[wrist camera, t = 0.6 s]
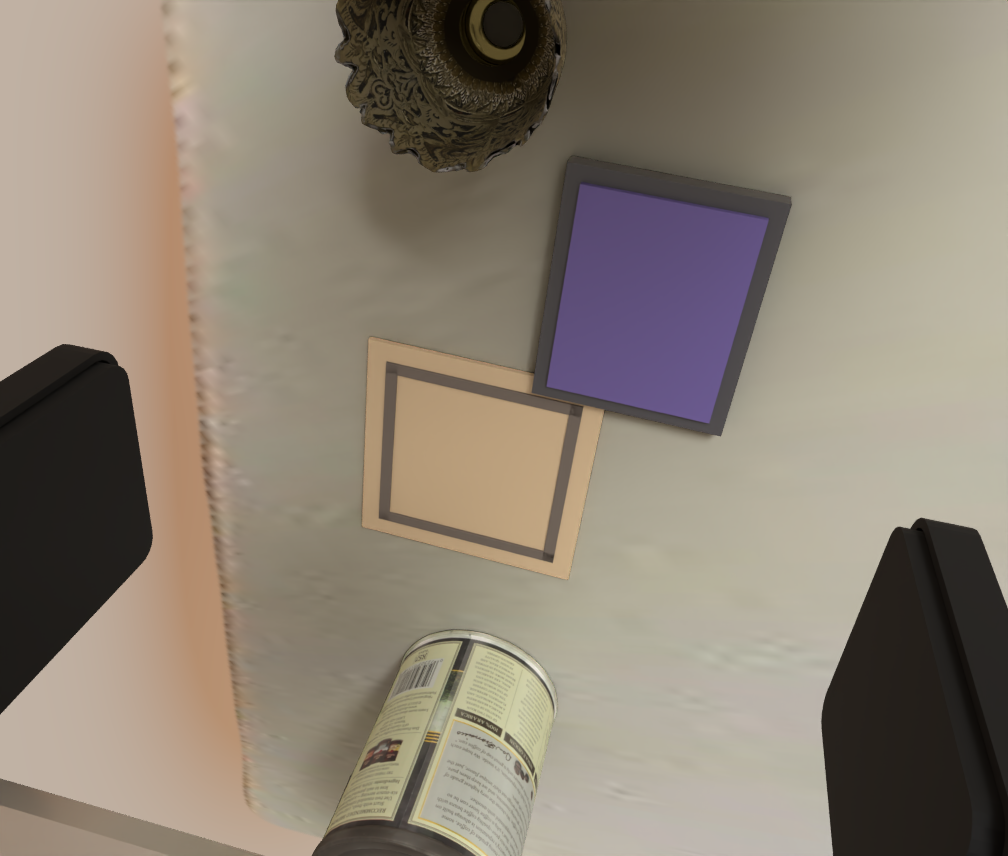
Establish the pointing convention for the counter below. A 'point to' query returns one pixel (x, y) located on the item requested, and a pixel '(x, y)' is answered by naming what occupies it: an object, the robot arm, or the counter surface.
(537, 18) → the cup
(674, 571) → the counter surface
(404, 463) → the print card
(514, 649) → the coffee can
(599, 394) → the ink pad
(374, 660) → the counter surface
